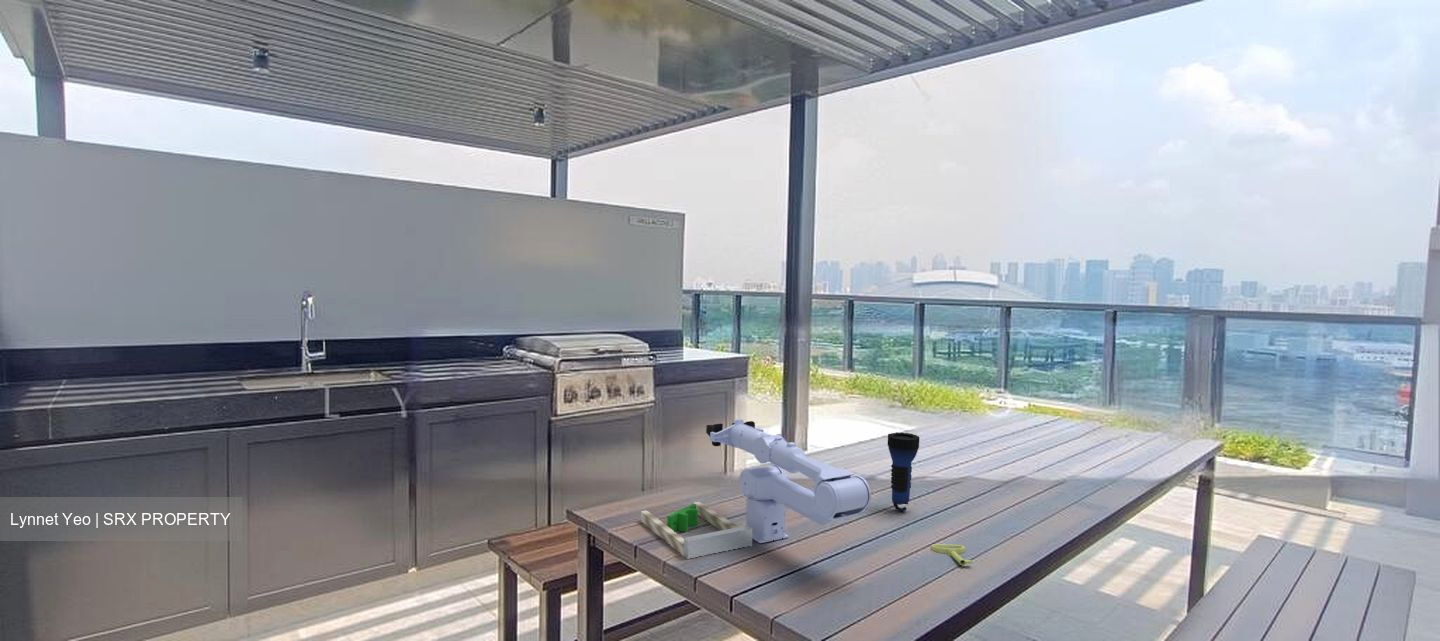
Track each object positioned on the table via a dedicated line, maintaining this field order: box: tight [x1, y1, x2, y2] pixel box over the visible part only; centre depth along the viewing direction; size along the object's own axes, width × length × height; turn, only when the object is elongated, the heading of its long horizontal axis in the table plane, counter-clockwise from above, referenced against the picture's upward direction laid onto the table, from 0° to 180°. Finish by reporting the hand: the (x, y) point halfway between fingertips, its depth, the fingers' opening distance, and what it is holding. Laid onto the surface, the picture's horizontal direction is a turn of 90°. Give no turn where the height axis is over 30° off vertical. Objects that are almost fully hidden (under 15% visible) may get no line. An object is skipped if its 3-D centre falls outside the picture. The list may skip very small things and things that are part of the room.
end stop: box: [683, 525, 753, 560], centre depth 140 cm, size 2×16×4 cm, turn 119°
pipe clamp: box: [666, 503, 699, 532], centre depth 155 cm, size 10×4×4 cm, turn 147°
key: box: [930, 543, 973, 566], centre depth 140 cm, size 7×12×2 cm, turn 16°
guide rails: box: [640, 501, 740, 557], centre depth 152 cm, size 24×16×2 cm, turn 29°
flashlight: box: [887, 432, 920, 512], centre depth 168 cm, size 8×8×20 cm
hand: (720, 427), depth 167 cm, fingers open, 7 cm apart
